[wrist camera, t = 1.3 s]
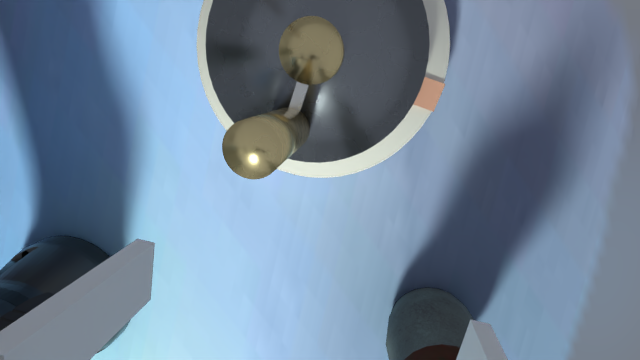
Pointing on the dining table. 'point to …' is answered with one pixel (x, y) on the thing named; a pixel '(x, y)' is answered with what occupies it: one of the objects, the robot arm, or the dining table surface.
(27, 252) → the robot arm
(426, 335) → the bottle
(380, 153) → the wheel base
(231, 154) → the handwheel
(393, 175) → the dining table surface
